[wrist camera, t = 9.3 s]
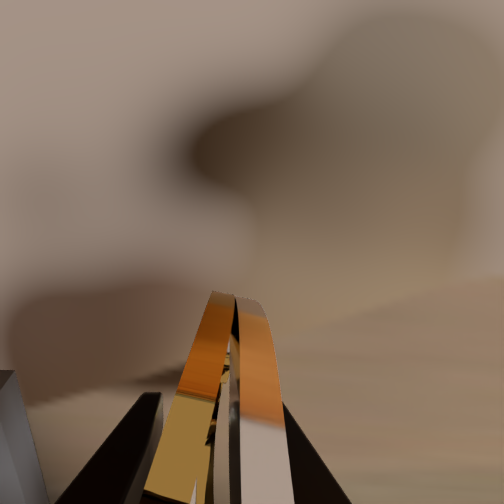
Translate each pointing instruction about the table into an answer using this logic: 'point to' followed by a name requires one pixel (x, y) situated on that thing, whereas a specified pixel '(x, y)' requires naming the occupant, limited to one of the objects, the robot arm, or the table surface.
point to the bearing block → (17, 449)
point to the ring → (240, 413)
